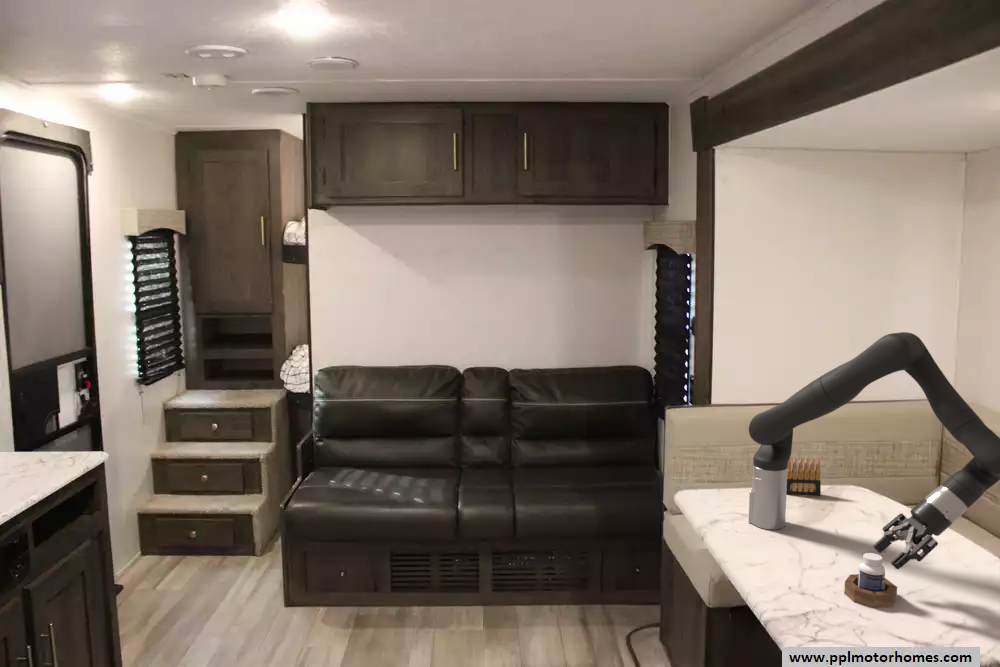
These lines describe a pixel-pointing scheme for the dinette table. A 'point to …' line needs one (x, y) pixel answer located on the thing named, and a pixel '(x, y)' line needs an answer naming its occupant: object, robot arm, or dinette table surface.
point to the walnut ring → (870, 593)
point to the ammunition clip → (804, 478)
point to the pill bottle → (871, 573)
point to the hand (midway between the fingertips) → (884, 558)
